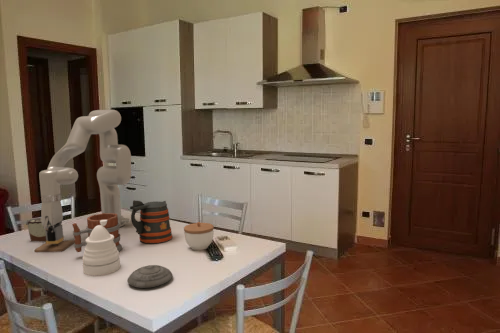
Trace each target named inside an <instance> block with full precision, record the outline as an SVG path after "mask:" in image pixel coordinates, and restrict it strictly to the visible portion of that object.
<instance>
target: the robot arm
mask: <svg viewBox="0 0 500 333" xmlns="http://www.w3.org/2000/svg"><path fill="white" fill-rule="evenodd" d="M121 121H122V116H121V114H120V112H119V111H118V110H117V109H116V110H115V109H97V110H92V111H90V112H89V114H88V115H87V116H86V115H85V116H84V115H83V116H79V117H77V118H76V119H75V121H74V123H73V126H72V127H71V128H72V129H71V130H70V133H69V134H68V138H67V139H66V140H67V141H66V142H65V144H64V145H63V146H62V147H61V148H60V149H59V150H58V151H56V153H55V154H54V155H53V156H52V158H51V159H50V162H49V164H48V166H47V169H44V170H41V171H40V172H39V175H38V176H39V185H40V186H39V188H40V189H39V190H40V197H41V198H40V199H41V208H40V212H41V213H40V214H41V215H40V218H41V220H42V226H44V227H43V228H44V229H45V230H46V233H47V238H48V241H56V237H55V232H54V225H62V223H63V218H64V214H63V213H64V212H63V208H62V194H61V185H72V184H74V183H76V182H77V181H78V178H79V174H78V171H77V170H76V168H75V169H74V168H72V167H67V166H66V164H67V163H68V161H70V160H71V159H73V158H75V157H77V156H78V155H80V154H82V153H84V152H85V151H86V148H87V146H88V143H89V141H90V138H91V136H92V135H98V136H99V157H100V160H101V161H102V162H104V163H105V164H115V165H103V166H100V167H99V168H98V169H97V172H96V179H97V182H98V186H99V193H100V205H101V206H100V209H101V214H102V213H113V214H117V216H118V222H119V225H120V228H122V227H123V226H125V225H126V223H130V222H131V218H129V217H125V218H124V215H122V203H121V191H120V188H119V187H118V186H122V185H123V186H125V185H127V184H128V183H129V182H130V181H131V178H132V177H131V176H132V154H131V150H130V148H129V147H128V146H127V145H126V144H119V142H118V141H119V139H118V133H117V130H116V129H115V128H117V127H118V126H119V125H120V124H121ZM65 166H66V167H65ZM49 224H51V225H49ZM51 226H52V228H50V227H51Z"/></svg>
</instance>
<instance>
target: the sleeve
mask: <svg viewBox="0 0 500 333" xmlns="http://www.w3.org/2000/svg"><path fill="white" fill-rule="evenodd" d="M50 228H52V226H51V227H50ZM63 229H64V228H63V224H61V225H54V232H55V237H56V241H48V238H47V233H46V230H45V233H46V242H45V243H46V244H58V243H60V242H61V241H63V240H64V230H63Z"/></svg>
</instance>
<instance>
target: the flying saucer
mask: <svg viewBox="0 0 500 333" xmlns="http://www.w3.org/2000/svg"><path fill="white" fill-rule="evenodd" d="M172 278H173V273H172V272H171V270H170V269H169V268H167V267H165V266H163V265H162V266H161V265H158V264H150V265H148V264H147V265H145V266H144V265H143V266H141V267H139V268H137V269H136V270H133V272H131V274H129V276H128V277H127V283H128V284H129V285H130V286H131V287H136V288H141V289H143V288H144V289H145V288H146V289H147V288H148V289H149V288H154V287H158V286H162V285H164V284H166V283H169V281H170V280H171V279H172Z"/></svg>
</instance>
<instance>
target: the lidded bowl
mask: <svg viewBox="0 0 500 333" xmlns="http://www.w3.org/2000/svg"><path fill="white" fill-rule="evenodd" d="M214 228H215V227H214V224H212V223H209V222H201V221H197V222H194V223H188V224H187V225H185V226H184V227H183V233H184V238H185V242H186V244H187V245H188V246H189V247H190V248H191V249H192V250H194V251H203V250H206V249H208V248H209V246H210V245H211V244H212V242H213V240H214Z"/></svg>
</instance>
